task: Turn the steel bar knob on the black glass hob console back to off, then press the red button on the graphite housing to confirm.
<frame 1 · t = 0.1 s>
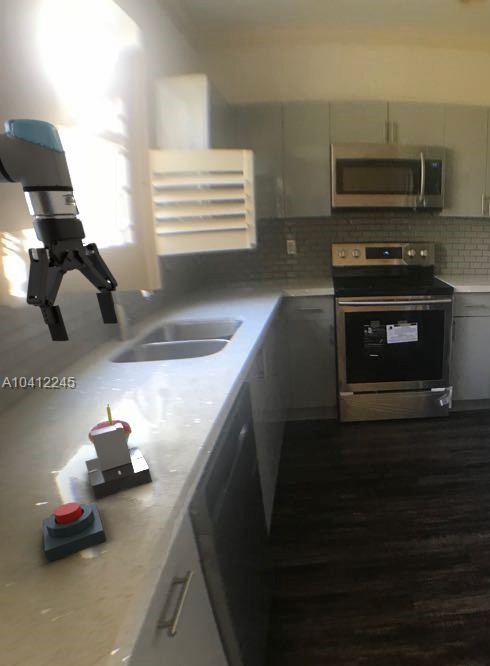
hand: (87, 331, 91), 29 cm above the worktop, tool pointing down, fingers open, 13 cm apart
cupcake: (115, 451, 106), on the worktop
confirm button: (68, 513, 76), point 5 cm above the worktop, slide at 0.2 cm
hob knob: (111, 446, 92), point 7 cm above the worktop, hinge at 90.0°
button box: (75, 535, 78), on the worktop
hob console: (119, 477, 95), on the worktop
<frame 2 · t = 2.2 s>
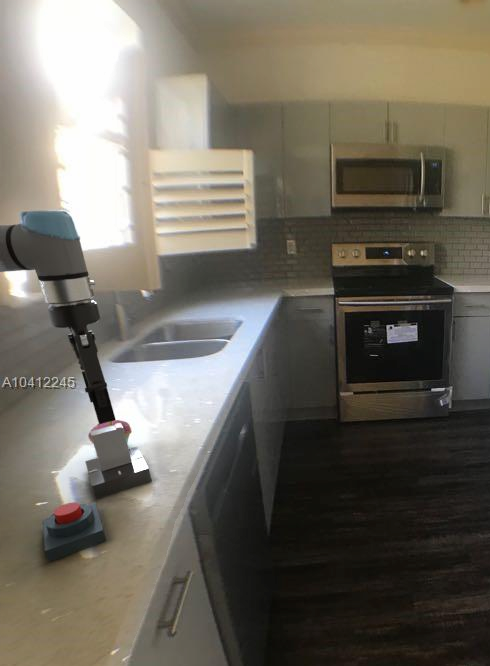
hand: (102, 410, 90), 15 cm above the worktop, tool pointing down, fingers open, 13 cm apart
nothing on the worktop moved.
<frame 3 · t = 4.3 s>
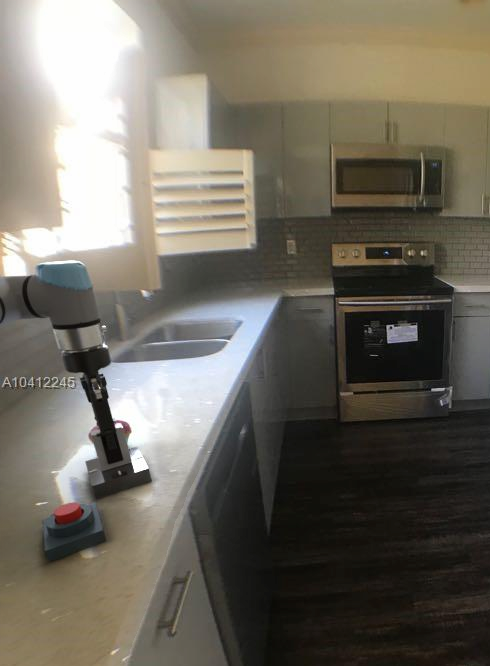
hand: (114, 458, 93), 5 cm above the worktop, tool pointing down, fingers closed on hob knob, 3 cm apart
hob knob: (111, 446, 92), point 7 cm above the worktop, hinge at 89.8°, touching gripper
everything else where it was.
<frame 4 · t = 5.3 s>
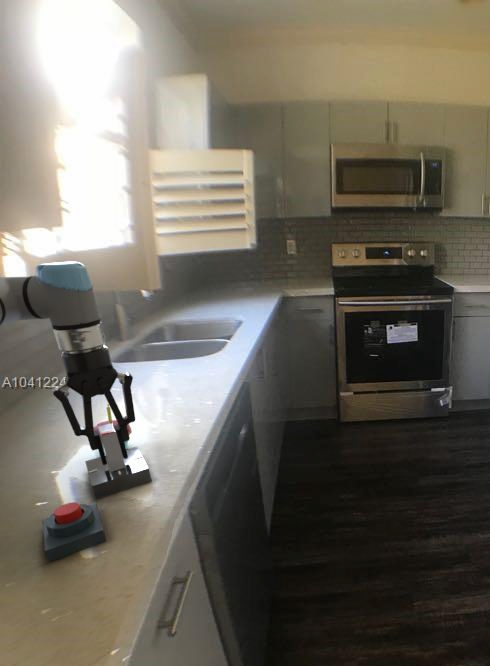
hand: (114, 458, 93), 4 cm above the worktop, tool pointing down, fingers open, 3 cm apart
hob knob: (111, 446, 92), point 7 cm above the worktop, hinge at 0.0°
everything else where it was.
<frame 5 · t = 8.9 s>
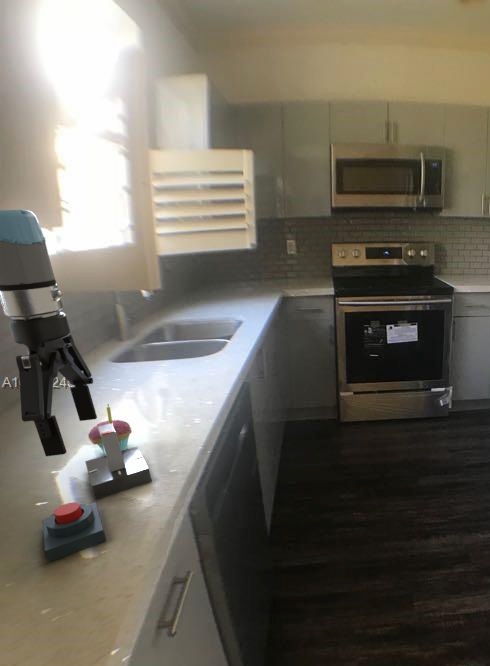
hand: (73, 435, 79), 15 cm above the worktop, tool pointing down, fingers open, 13 cm apart
nothing on the worktop moved.
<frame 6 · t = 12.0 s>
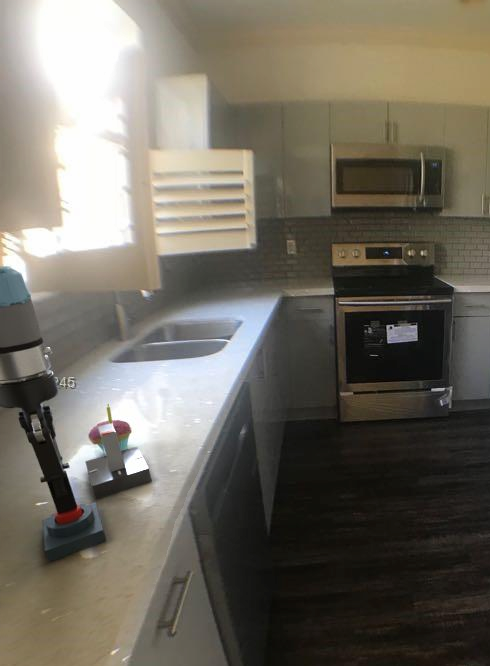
hand: (67, 508, 76), 5 cm above the worktop, tool pointing down, fingers closed
confirm button: (68, 514, 76), point 4 cm above the worktop, slide at -0.1 cm, touching gripper
everything else where it was.
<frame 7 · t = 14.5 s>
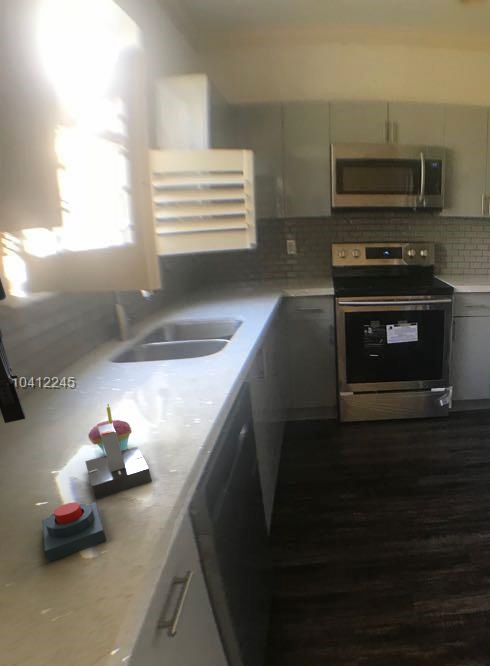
hand: (15, 419, 77), 19 cm above the worktop, tool pointing down, fingers closed
confirm button: (68, 513, 76), point 5 cm above the worktop, slide at 0.2 cm
everything else where it was.
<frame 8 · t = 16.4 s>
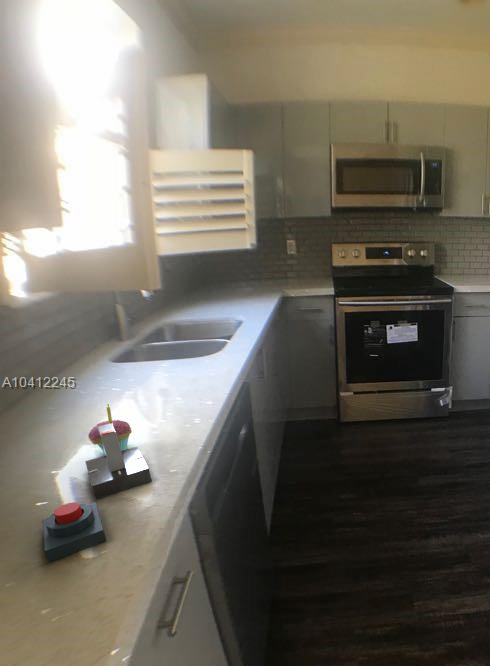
nothing on the worktop moved.
at the end: hob knob at +0° (first picture: +90°); confirm button pushed in 1.0 cm at the most during the clip, back to 0.2 cm at the end; confirm button slide at 0.2 cm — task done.
